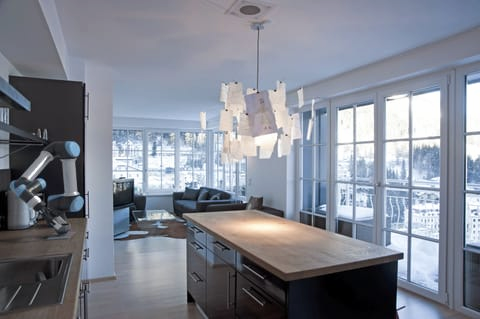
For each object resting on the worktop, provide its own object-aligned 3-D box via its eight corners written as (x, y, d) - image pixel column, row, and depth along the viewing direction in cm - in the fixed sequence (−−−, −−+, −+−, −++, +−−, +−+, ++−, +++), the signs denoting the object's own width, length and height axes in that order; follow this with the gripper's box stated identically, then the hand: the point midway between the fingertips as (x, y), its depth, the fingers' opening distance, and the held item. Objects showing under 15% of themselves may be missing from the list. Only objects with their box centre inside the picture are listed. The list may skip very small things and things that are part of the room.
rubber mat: (54, 233, 227) (54, 232, 227) (75, 232, 231) (75, 231, 231) (45, 240, 208) (45, 239, 208) (68, 238, 211) (68, 238, 211)
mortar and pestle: (73, 233, 224) (73, 215, 224) (65, 236, 214) (65, 218, 214) (58, 233, 225) (58, 215, 225) (48, 236, 215) (48, 218, 215)
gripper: (38, 205, 227) (62, 226, 231) (25, 211, 203) (52, 234, 207) (47, 197, 228) (71, 218, 232) (35, 202, 204) (62, 225, 208)
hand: (62, 226), depth 219 cm, fingers open, 13 cm apart
